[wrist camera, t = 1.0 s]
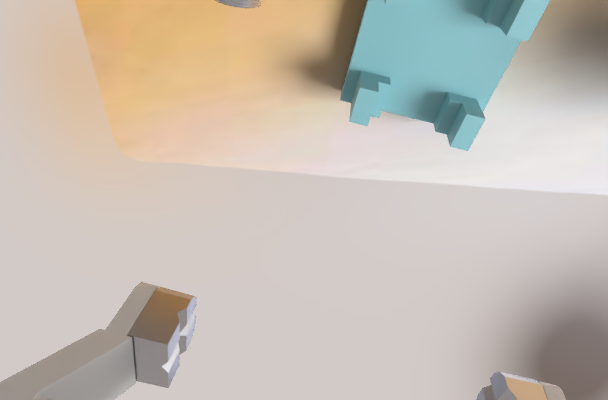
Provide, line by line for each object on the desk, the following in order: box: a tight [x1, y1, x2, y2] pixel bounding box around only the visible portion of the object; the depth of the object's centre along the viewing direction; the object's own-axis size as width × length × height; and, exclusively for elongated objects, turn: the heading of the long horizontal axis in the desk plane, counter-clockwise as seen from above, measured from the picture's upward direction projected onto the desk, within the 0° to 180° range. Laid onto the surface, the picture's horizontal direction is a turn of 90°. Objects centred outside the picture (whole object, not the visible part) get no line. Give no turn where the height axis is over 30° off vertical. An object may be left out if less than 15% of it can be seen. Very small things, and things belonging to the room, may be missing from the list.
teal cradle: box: [340, 0, 550, 151], centre depth 31 cm, size 12×12×6 cm
